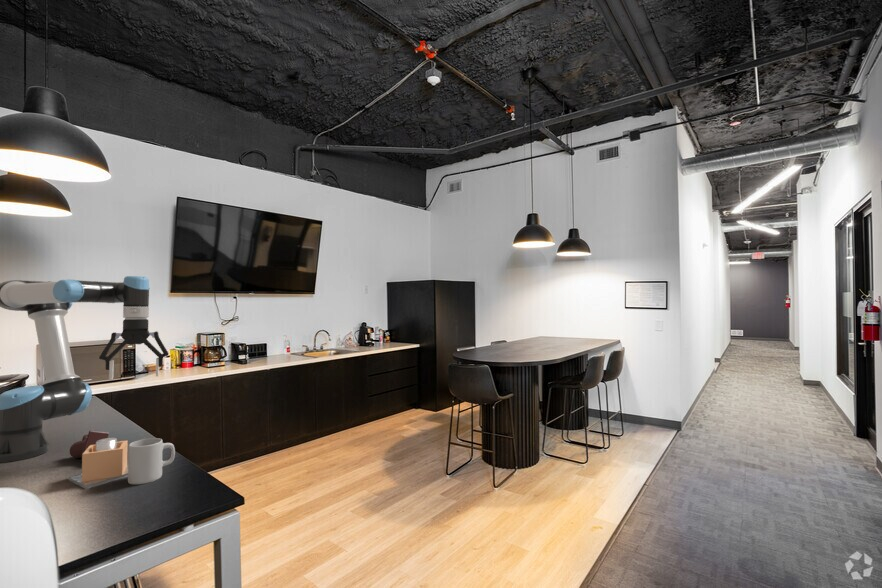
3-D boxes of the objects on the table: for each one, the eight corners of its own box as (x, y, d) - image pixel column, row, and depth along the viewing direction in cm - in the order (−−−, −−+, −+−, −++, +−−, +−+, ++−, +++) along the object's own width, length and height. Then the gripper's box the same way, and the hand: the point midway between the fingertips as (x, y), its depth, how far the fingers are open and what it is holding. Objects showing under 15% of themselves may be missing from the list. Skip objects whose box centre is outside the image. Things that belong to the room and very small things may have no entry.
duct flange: (68, 480, 126) (69, 443, 127) (123, 465, 138) (123, 431, 139) (85, 489, 120) (86, 450, 121) (140, 472, 132) (141, 437, 133)
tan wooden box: (81, 482, 123) (82, 454, 123) (89, 471, 131) (89, 445, 131) (122, 475, 127) (122, 448, 128) (127, 465, 136) (127, 440, 136)
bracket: (98, 459, 137) (107, 427, 141) (64, 464, 142) (73, 433, 146) (117, 460, 142) (125, 429, 146) (83, 465, 147) (92, 435, 152)
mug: (131, 487, 121) (132, 448, 122) (124, 479, 127) (125, 442, 127) (178, 475, 130) (179, 439, 130) (170, 468, 136) (171, 433, 136)
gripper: (89, 319, 144) (88, 382, 143) (175, 318, 156) (174, 375, 155) (94, 319, 150) (93, 378, 150) (177, 318, 162) (176, 373, 162)
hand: (134, 377), depth 152 cm, fingers open, 13 cm apart
